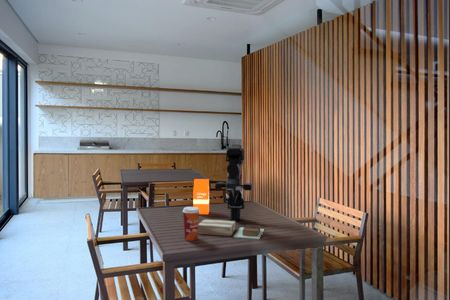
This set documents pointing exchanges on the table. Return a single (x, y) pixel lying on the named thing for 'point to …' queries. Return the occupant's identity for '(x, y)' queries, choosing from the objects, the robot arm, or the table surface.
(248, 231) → the walnut block
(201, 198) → the orange juice
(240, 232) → the sage mat
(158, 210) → the table surface
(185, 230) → the paper cup
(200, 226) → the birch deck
